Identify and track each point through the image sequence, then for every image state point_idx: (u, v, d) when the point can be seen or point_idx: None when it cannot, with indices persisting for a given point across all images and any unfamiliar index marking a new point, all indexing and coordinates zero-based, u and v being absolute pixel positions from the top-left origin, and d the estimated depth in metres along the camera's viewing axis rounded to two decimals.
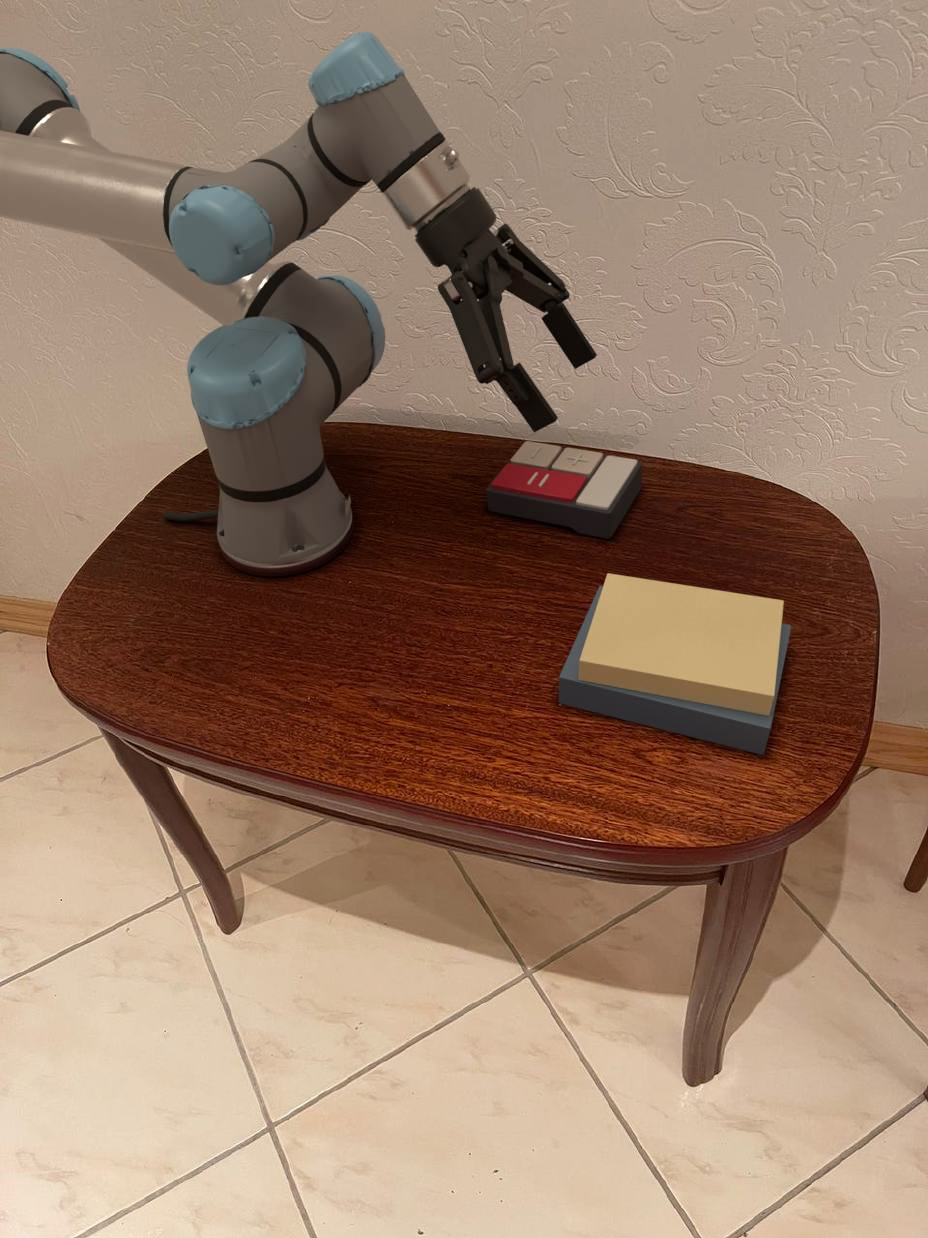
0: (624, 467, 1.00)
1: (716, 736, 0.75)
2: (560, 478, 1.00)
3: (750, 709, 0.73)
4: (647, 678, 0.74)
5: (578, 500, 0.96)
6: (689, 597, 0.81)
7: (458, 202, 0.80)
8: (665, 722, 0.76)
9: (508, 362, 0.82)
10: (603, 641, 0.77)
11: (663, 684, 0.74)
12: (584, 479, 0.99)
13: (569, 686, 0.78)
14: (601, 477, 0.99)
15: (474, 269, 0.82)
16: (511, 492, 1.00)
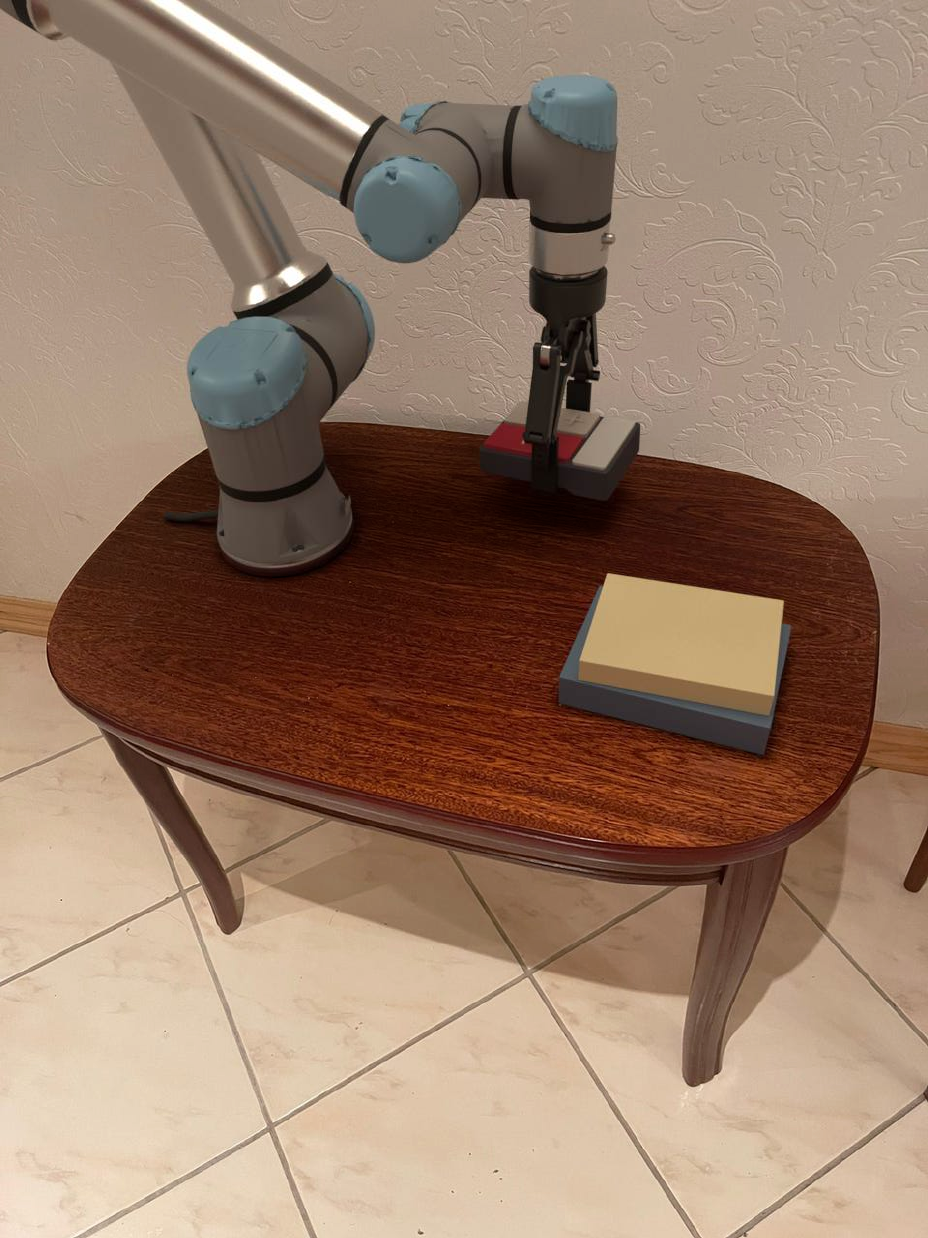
0: (622, 428, 0.97)
1: (716, 736, 0.75)
2: None
3: (750, 709, 0.73)
4: (647, 678, 0.74)
5: (574, 460, 0.93)
6: (689, 597, 0.81)
7: (591, 281, 0.83)
8: (665, 722, 0.76)
9: (553, 437, 0.90)
10: (603, 641, 0.77)
11: (663, 684, 0.74)
12: (580, 439, 0.96)
13: (569, 686, 0.78)
14: (598, 438, 0.96)
15: (566, 339, 0.86)
16: (505, 452, 0.96)
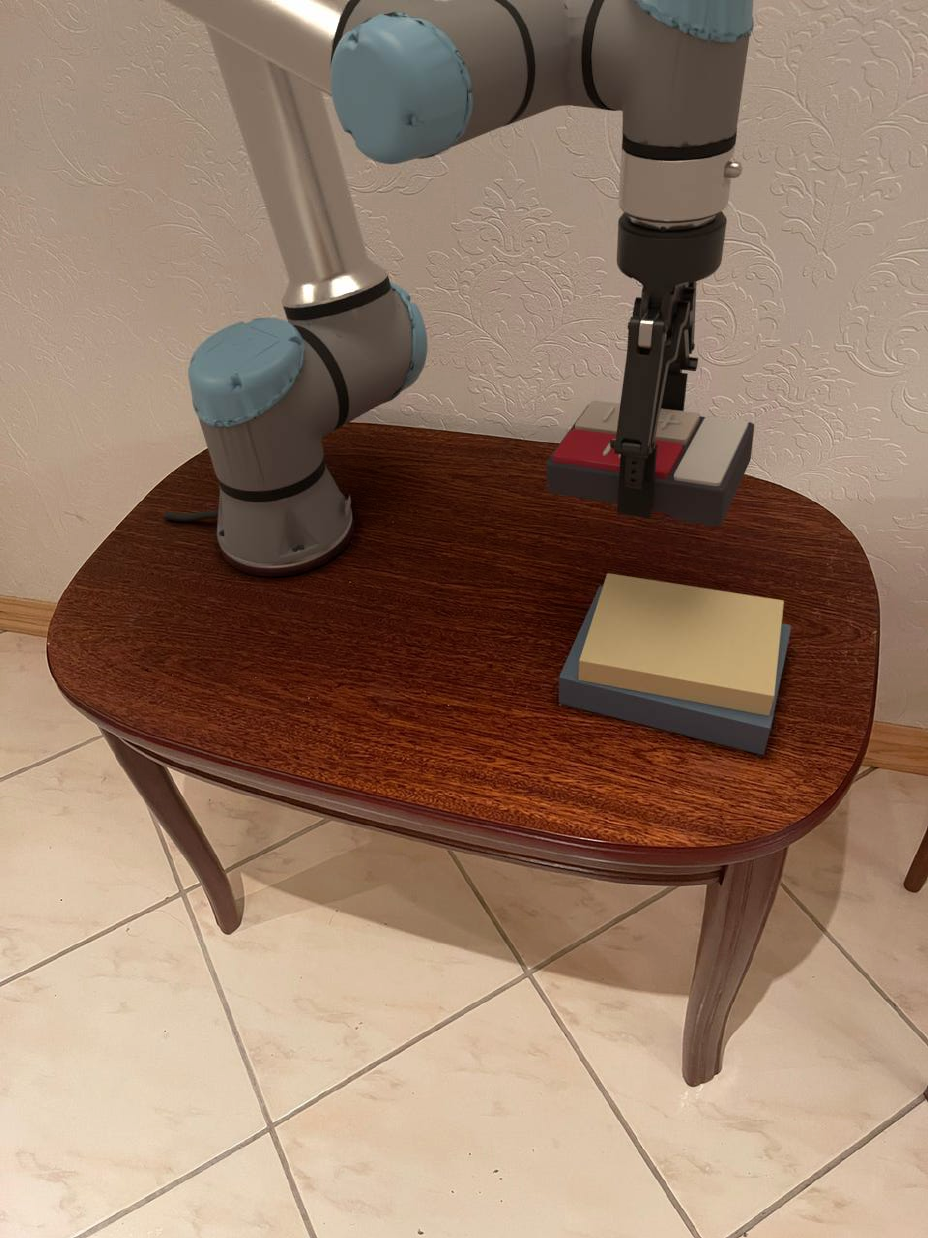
0: (732, 431, 0.74)
1: (716, 736, 0.75)
2: None
3: (750, 709, 0.73)
4: (647, 678, 0.74)
5: (676, 474, 0.70)
6: (689, 597, 0.81)
7: (708, 230, 0.60)
8: (665, 722, 0.76)
9: (653, 445, 0.67)
10: (603, 641, 0.77)
11: (663, 684, 0.74)
12: (680, 447, 0.73)
13: (569, 686, 0.78)
14: (703, 444, 0.73)
15: (671, 312, 0.64)
16: (581, 466, 0.73)
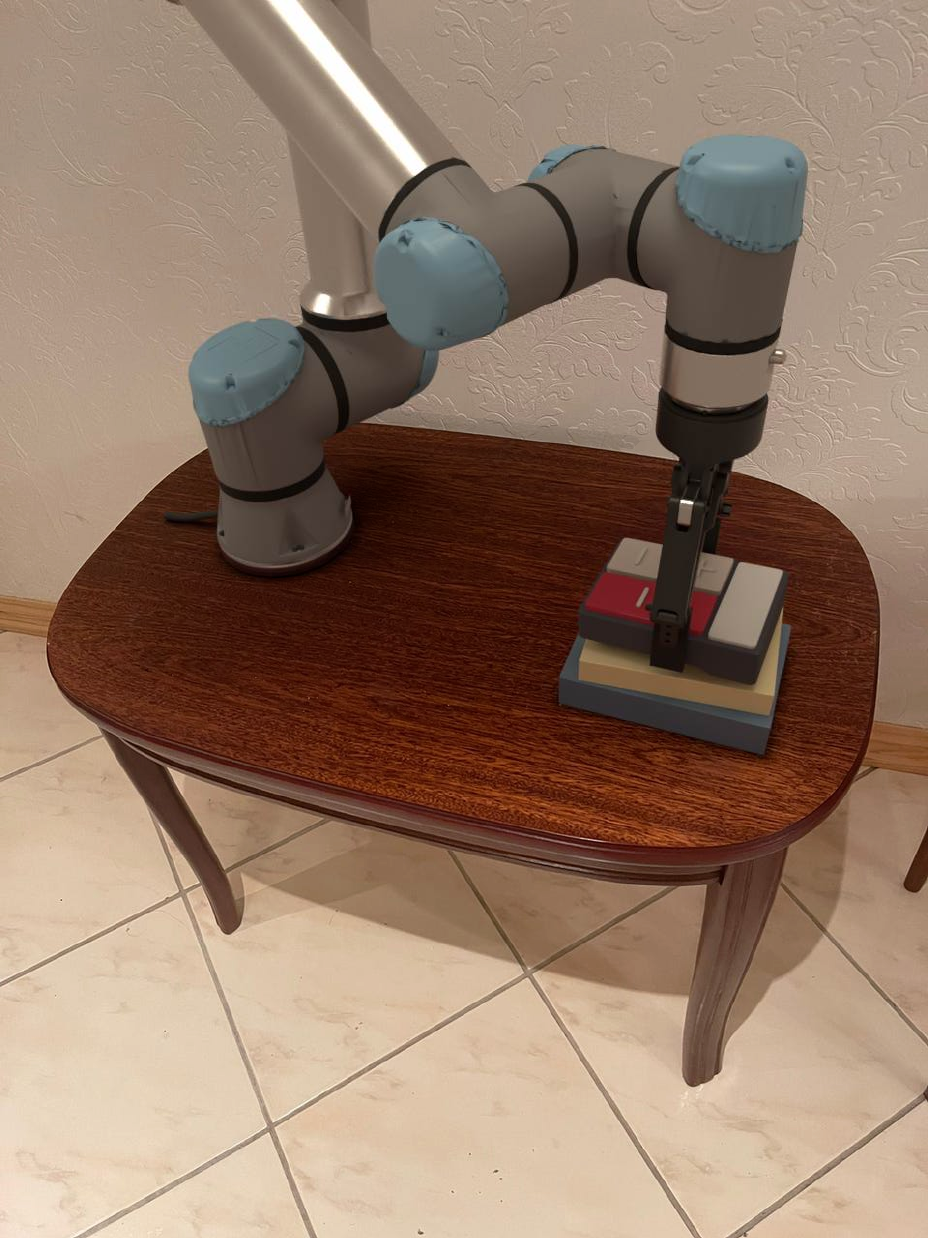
0: (767, 582, 0.74)
1: (716, 736, 0.75)
2: None
3: (750, 709, 0.73)
4: (647, 678, 0.74)
5: (711, 633, 0.70)
6: None
7: (750, 414, 0.60)
8: (665, 722, 0.76)
9: (688, 612, 0.66)
10: None
11: (663, 684, 0.74)
12: (714, 600, 0.72)
13: (569, 686, 0.78)
14: (737, 597, 0.73)
15: (710, 486, 0.63)
16: (614, 617, 0.73)
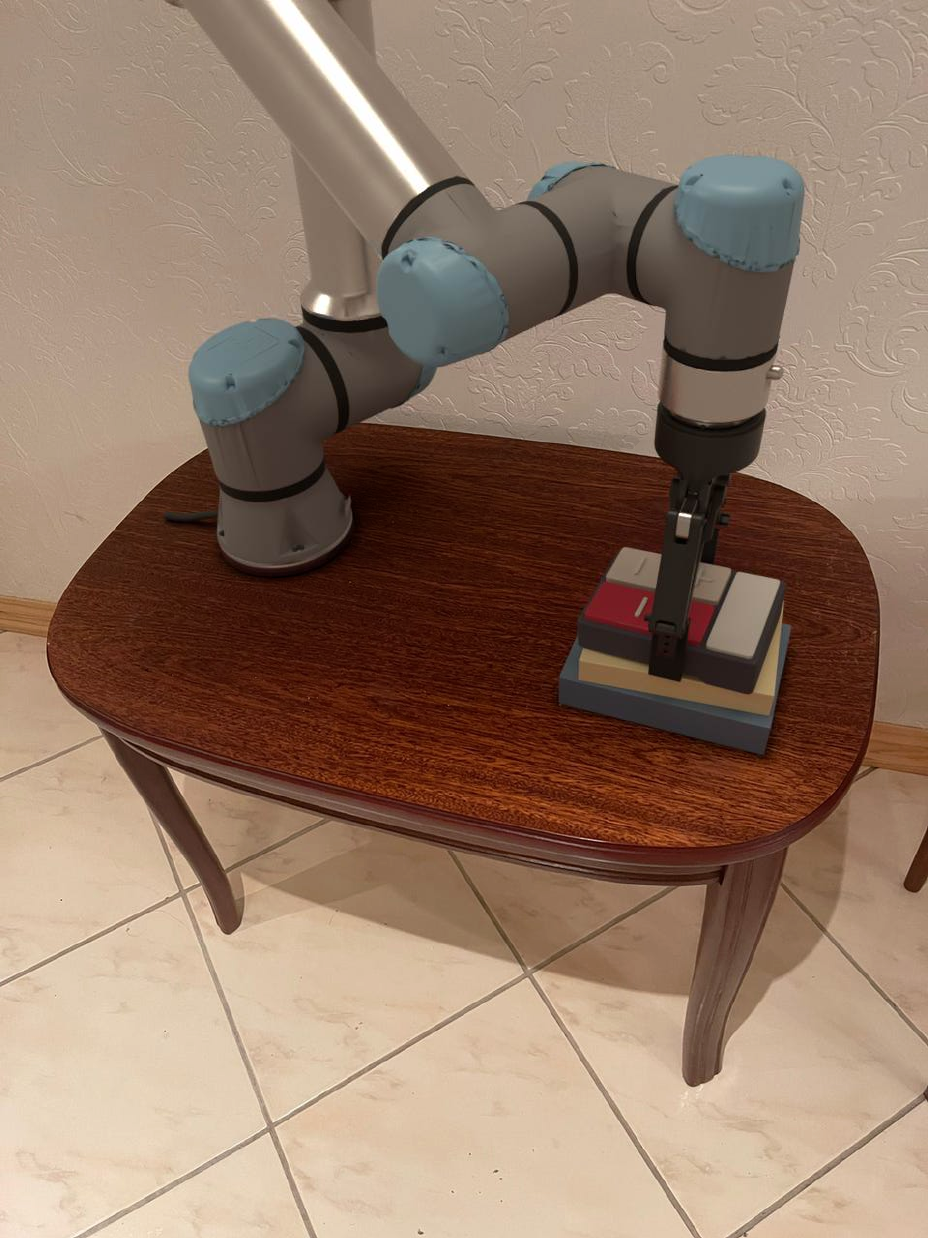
0: (764, 592, 0.75)
1: (716, 736, 0.75)
2: None
3: (750, 709, 0.73)
4: (647, 678, 0.74)
5: (709, 643, 0.71)
6: None
7: (748, 428, 0.61)
8: (665, 722, 0.76)
9: (687, 622, 0.67)
10: None
11: (663, 684, 0.74)
12: (712, 610, 0.73)
13: (569, 686, 0.78)
14: (735, 607, 0.74)
15: (708, 499, 0.64)
16: (613, 626, 0.74)
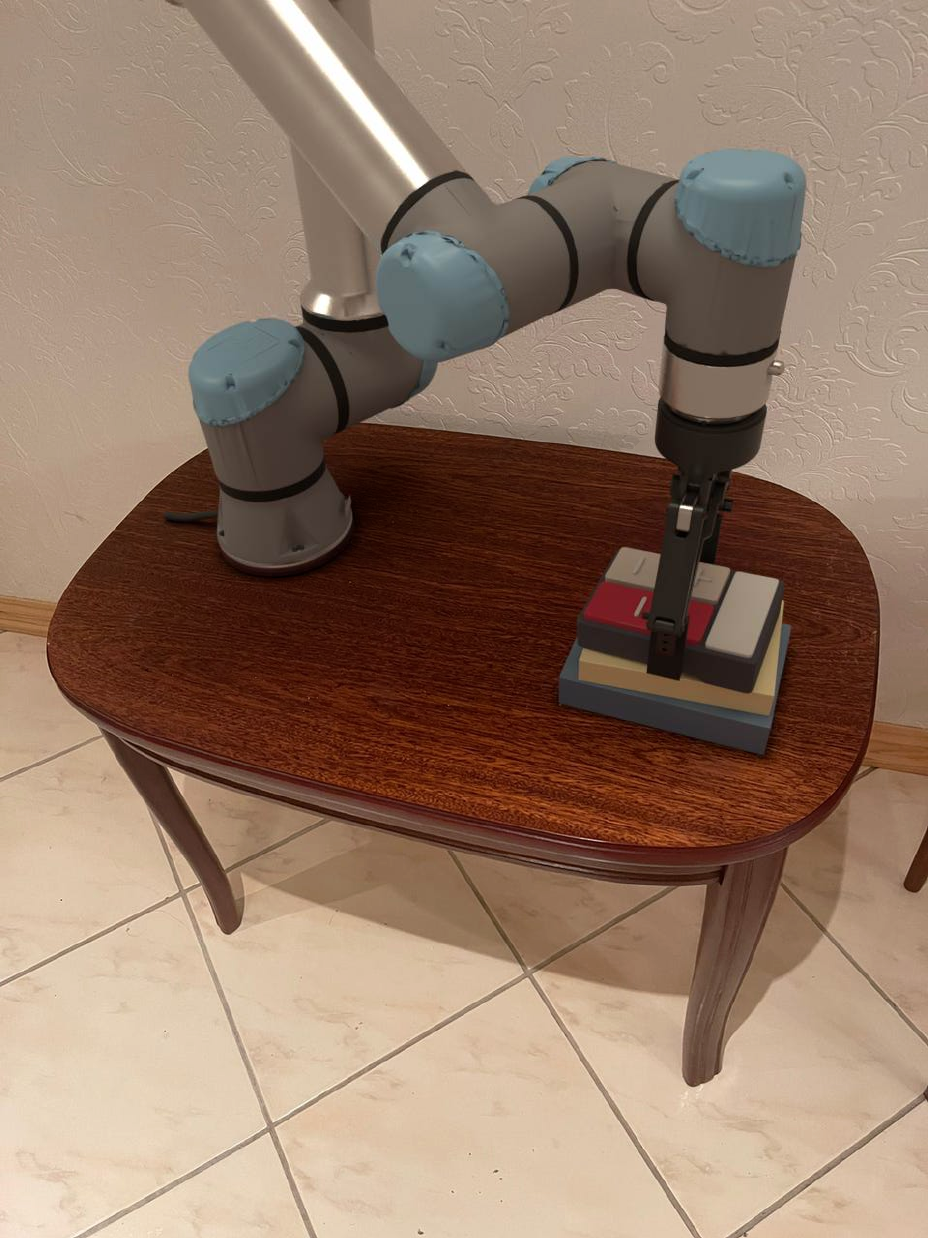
0: (763, 591, 0.75)
1: (716, 736, 0.75)
2: None
3: (750, 709, 0.73)
4: (647, 678, 0.74)
5: (708, 643, 0.71)
6: None
7: (749, 424, 0.60)
8: (665, 722, 0.76)
9: (686, 620, 0.66)
10: None
11: (663, 684, 0.74)
12: (711, 609, 0.73)
13: (569, 686, 0.78)
14: (734, 606, 0.74)
15: (709, 496, 0.64)
16: (612, 626, 0.74)
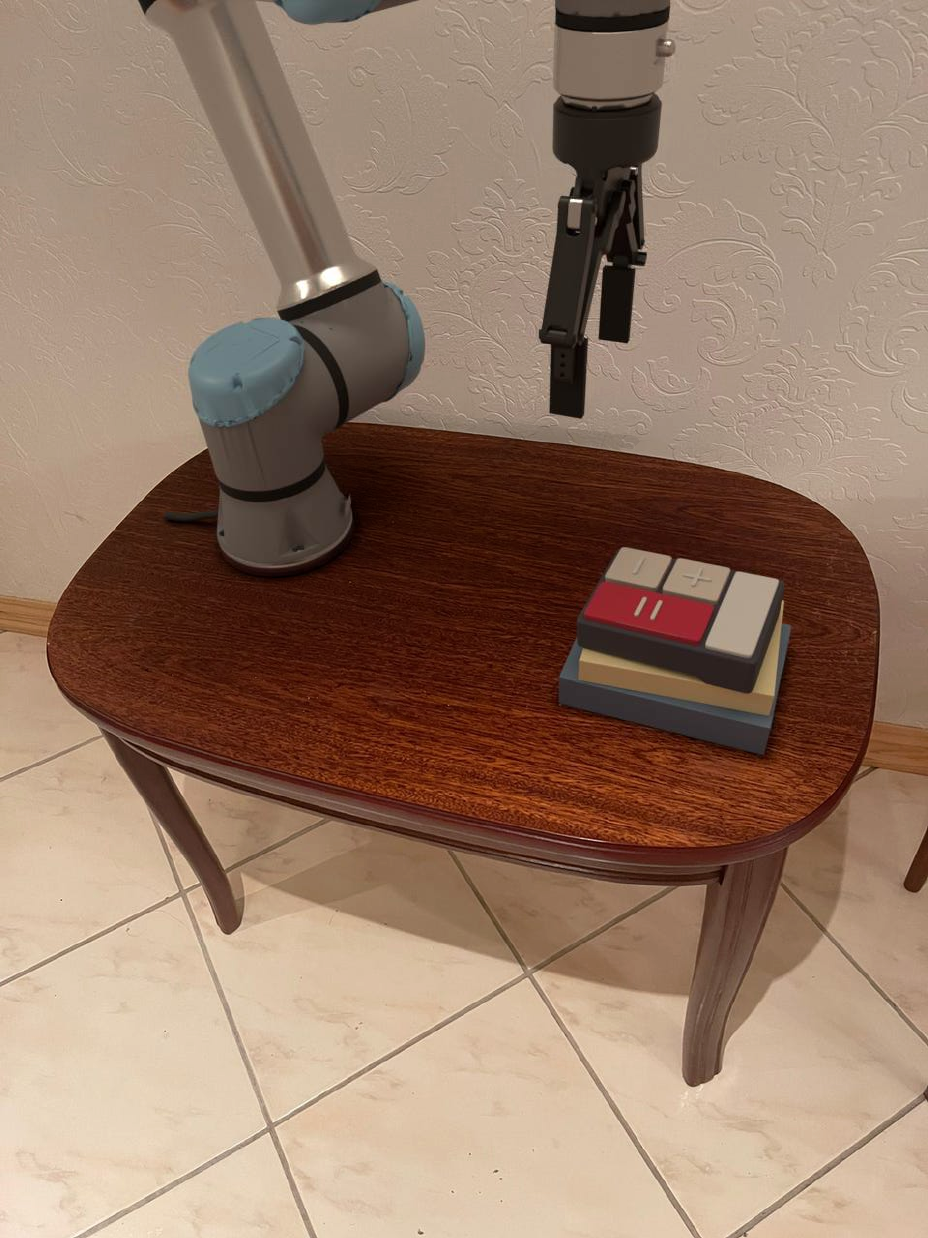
0: (763, 591, 0.75)
1: (716, 736, 0.75)
2: (677, 607, 0.74)
3: (750, 709, 0.73)
4: (647, 678, 0.74)
5: (708, 643, 0.71)
6: None
7: (640, 111, 0.59)
8: (665, 722, 0.76)
9: (581, 335, 0.65)
10: None
11: (663, 684, 0.74)
12: (711, 609, 0.73)
13: (569, 686, 0.78)
14: (734, 606, 0.74)
15: (604, 200, 0.63)
16: (612, 626, 0.74)
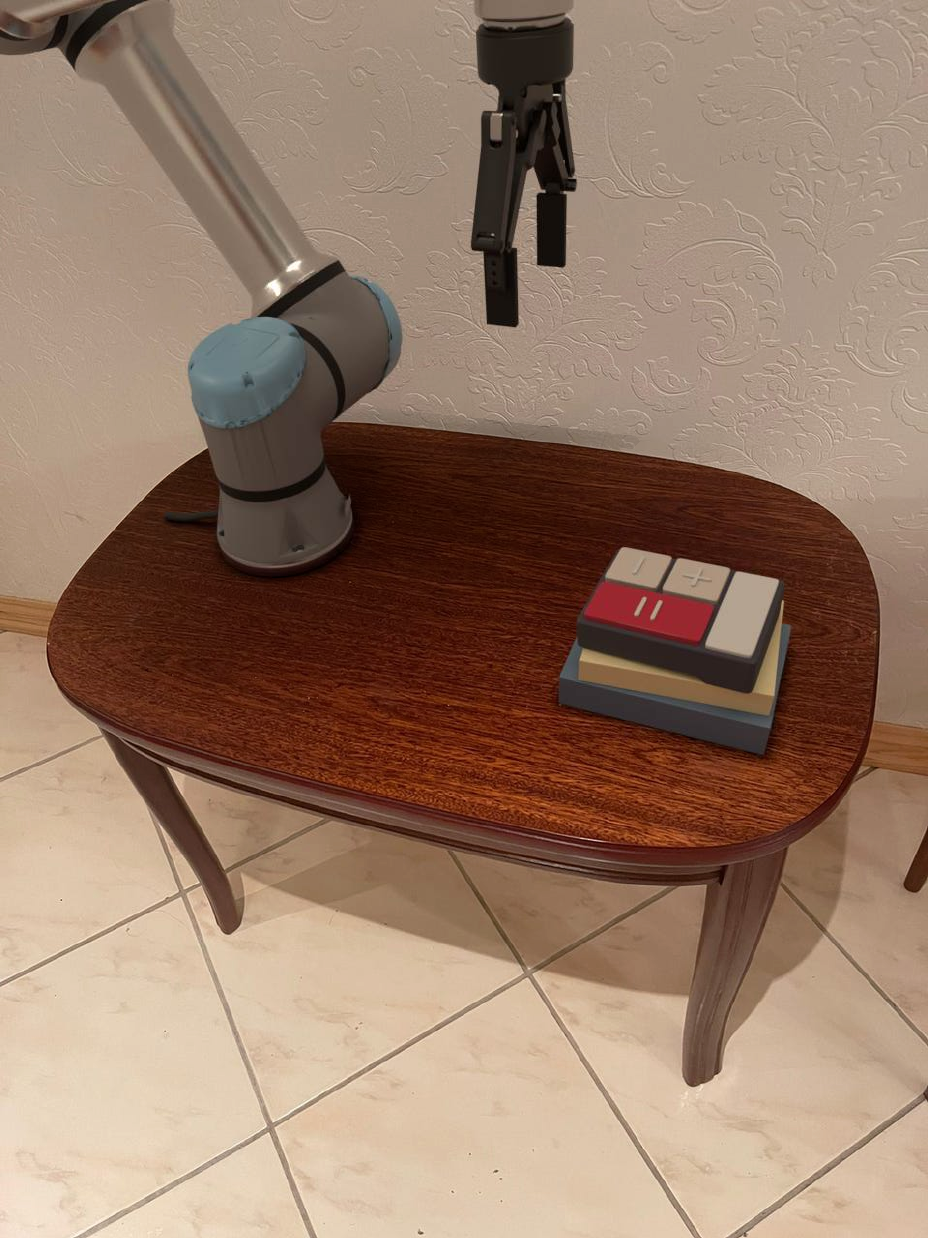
0: (763, 591, 0.75)
1: (716, 736, 0.75)
2: (677, 607, 0.74)
3: (750, 709, 0.73)
4: (647, 678, 0.74)
5: (708, 643, 0.71)
6: None
7: (552, 31, 0.65)
8: (665, 722, 0.76)
9: (509, 243, 0.71)
10: None
11: (663, 684, 0.74)
12: (711, 609, 0.73)
13: (569, 686, 0.78)
14: (734, 606, 0.74)
15: (525, 116, 0.69)
16: (612, 626, 0.74)
